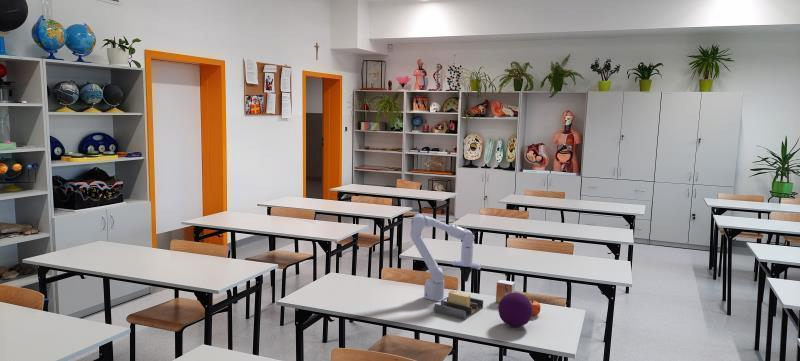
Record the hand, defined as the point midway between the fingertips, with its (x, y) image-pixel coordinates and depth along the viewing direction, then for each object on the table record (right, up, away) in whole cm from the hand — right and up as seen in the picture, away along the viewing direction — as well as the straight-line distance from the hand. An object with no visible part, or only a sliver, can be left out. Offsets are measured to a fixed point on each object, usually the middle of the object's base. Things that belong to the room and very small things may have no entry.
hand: (465, 281), depth 287 cm
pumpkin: (+29, -13, -18) cm, 36 cm away
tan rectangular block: (-5, -10, -15) cm, 19 cm away
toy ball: (+18, -15, -32) cm, 40 cm away
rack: (-5, -11, -15) cm, 19 cm away
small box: (+19, -10, -2) cm, 22 cm away
